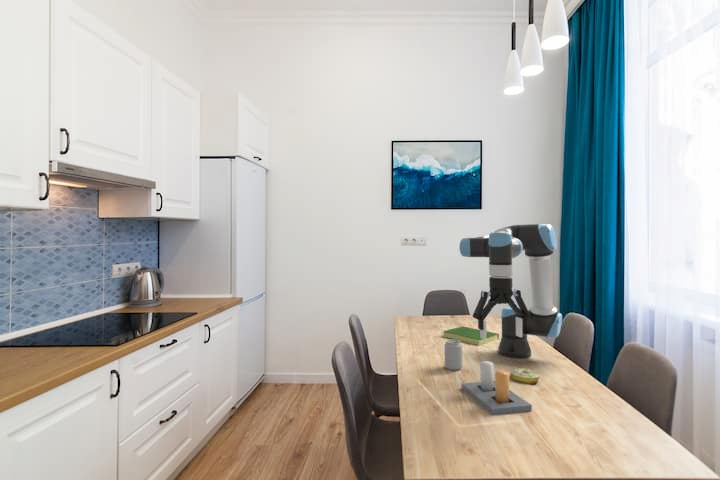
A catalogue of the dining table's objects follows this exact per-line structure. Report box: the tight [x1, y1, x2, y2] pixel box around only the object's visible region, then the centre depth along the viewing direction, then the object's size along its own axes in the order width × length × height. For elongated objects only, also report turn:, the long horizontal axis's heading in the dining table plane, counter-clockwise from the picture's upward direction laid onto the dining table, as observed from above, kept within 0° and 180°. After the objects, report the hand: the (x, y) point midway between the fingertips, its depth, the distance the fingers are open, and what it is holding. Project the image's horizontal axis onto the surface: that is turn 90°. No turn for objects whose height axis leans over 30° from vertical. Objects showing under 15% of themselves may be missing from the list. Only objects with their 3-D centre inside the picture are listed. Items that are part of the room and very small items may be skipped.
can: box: [444, 339, 463, 371], centre depth 167 cm, size 8×8×12 cm
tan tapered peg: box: [494, 369, 510, 404], centre depth 128 cm, size 4×4×11 cm
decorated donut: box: [510, 367, 540, 385], centre depth 152 cm, size 10×11×4 cm
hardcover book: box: [442, 325, 500, 346], centre depth 217 cm, size 25×19×4 cm
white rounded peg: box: [480, 360, 494, 392], centre depth 138 cm, size 4×4×11 cm
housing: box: [461, 380, 533, 416], centre depth 133 cm, size 22×14×2 cm, turn 10°
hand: (501, 337), depth 131 cm, fingers open, 13 cm apart
